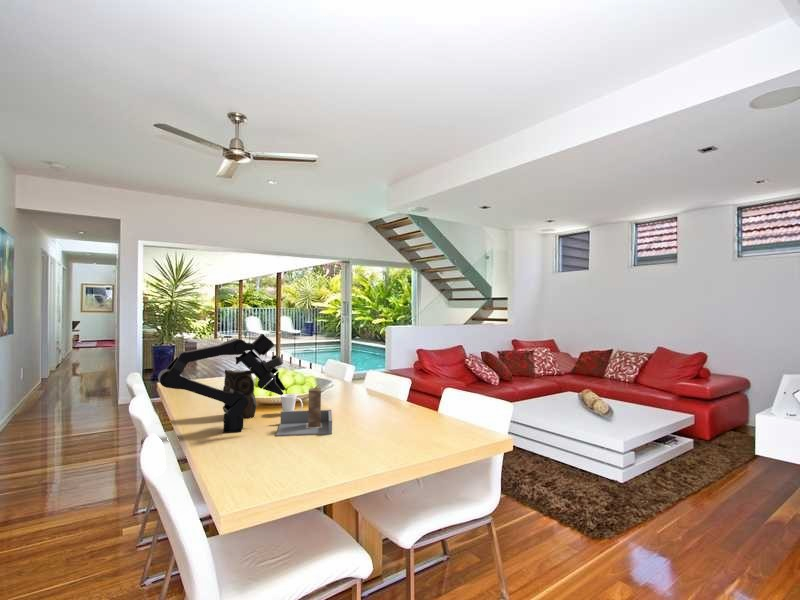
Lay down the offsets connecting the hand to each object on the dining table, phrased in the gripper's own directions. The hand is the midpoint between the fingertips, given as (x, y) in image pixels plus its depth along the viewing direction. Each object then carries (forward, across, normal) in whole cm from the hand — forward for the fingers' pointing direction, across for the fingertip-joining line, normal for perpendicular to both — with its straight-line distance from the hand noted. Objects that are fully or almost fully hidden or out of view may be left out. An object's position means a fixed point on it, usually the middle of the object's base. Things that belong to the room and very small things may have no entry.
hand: (283, 391), depth 166 cm
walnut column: (+18, -2, +1) cm, 18 cm away
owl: (-3, +20, +23) cm, 30 cm away
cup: (+11, +20, +8) cm, 24 cm away
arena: (+16, -4, +3) cm, 17 cm away
